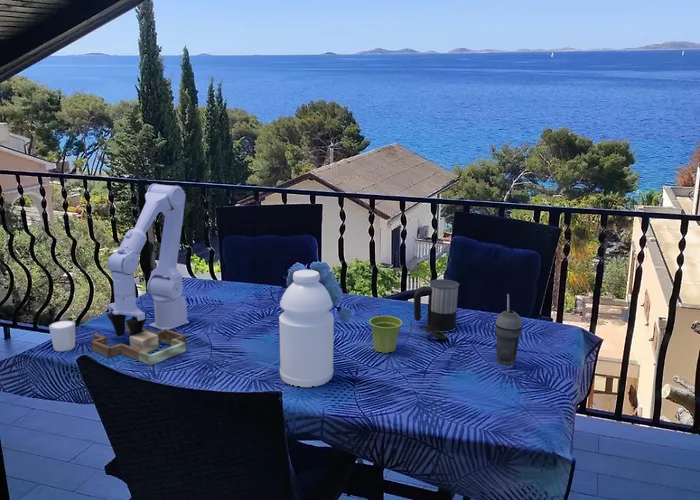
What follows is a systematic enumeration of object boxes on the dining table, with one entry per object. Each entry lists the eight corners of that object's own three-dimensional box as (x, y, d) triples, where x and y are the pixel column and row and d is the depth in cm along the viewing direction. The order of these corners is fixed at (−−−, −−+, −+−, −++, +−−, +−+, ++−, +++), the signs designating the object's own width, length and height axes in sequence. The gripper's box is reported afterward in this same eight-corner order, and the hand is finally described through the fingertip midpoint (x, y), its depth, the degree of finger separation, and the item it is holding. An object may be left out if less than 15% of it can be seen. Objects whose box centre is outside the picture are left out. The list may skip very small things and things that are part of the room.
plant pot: (405, 346, 182) (406, 318, 180) (394, 358, 174) (395, 329, 172) (376, 341, 186) (376, 313, 184) (363, 352, 178) (364, 324, 176)
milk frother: (448, 321, 203) (451, 277, 200) (472, 339, 189) (475, 292, 185) (408, 326, 199) (410, 281, 195) (429, 344, 184) (431, 296, 181)
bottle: (312, 393, 153) (312, 284, 146) (268, 379, 160) (266, 274, 153) (343, 372, 165) (344, 270, 158) (301, 360, 172) (300, 262, 165)
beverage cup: (504, 372, 166) (510, 301, 161) (486, 362, 172) (491, 293, 167) (525, 367, 169) (531, 297, 164) (506, 357, 175) (512, 289, 171)
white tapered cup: (67, 353, 175) (65, 329, 173) (46, 351, 176) (43, 327, 174) (82, 343, 181) (80, 321, 179) (61, 341, 182) (59, 319, 181)
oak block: (146, 343, 182) (145, 330, 181) (158, 348, 179) (157, 335, 178) (130, 349, 177) (129, 336, 176) (142, 354, 174) (141, 341, 173)
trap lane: (138, 327, 194) (138, 319, 194) (195, 347, 180) (195, 339, 179) (82, 346, 179) (82, 338, 179) (139, 369, 165) (139, 361, 164)
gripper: (97, 292, 180) (101, 336, 183) (128, 302, 171) (131, 348, 175) (118, 286, 185) (122, 329, 188) (149, 296, 177) (152, 340, 180)
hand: (128, 338), depth 182 cm, fingers open, 7 cm apart
